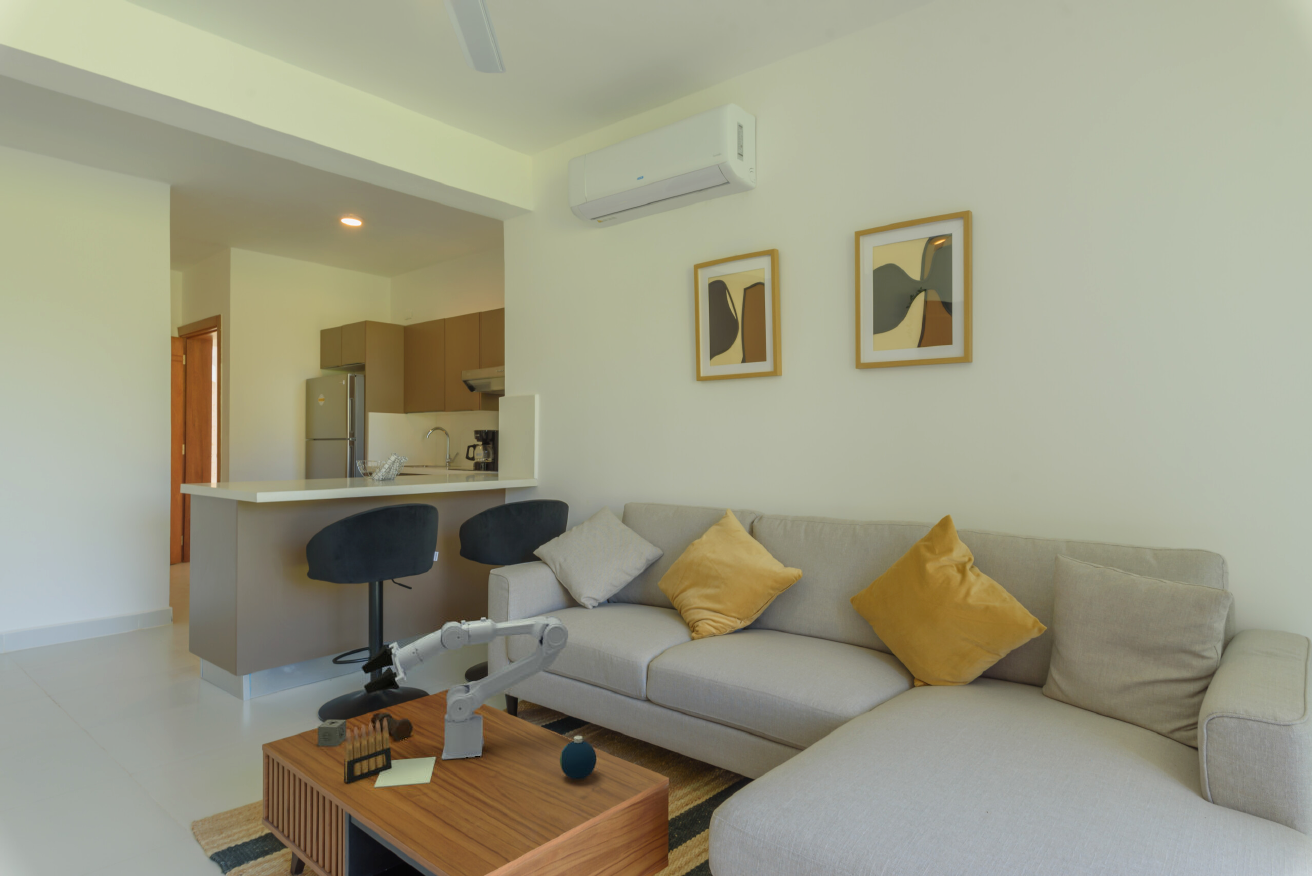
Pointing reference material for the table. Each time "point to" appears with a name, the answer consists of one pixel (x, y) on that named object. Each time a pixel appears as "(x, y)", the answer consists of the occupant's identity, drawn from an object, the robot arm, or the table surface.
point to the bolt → (394, 725)
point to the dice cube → (332, 733)
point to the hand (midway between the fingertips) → (364, 679)
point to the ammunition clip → (367, 753)
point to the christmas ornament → (578, 759)
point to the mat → (407, 772)
